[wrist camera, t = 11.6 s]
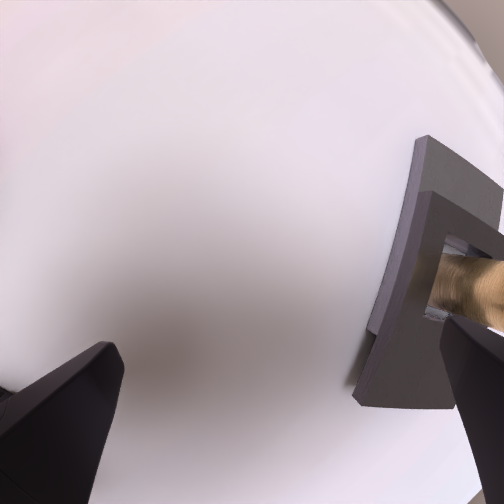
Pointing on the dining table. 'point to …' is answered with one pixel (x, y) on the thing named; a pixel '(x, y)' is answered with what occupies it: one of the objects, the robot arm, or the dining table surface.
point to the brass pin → (470, 289)
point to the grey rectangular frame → (426, 277)
